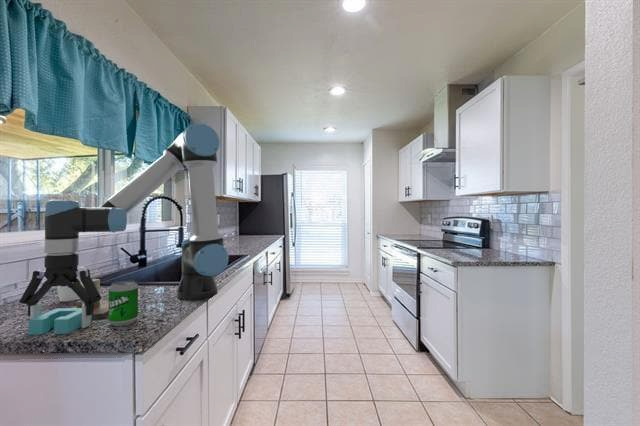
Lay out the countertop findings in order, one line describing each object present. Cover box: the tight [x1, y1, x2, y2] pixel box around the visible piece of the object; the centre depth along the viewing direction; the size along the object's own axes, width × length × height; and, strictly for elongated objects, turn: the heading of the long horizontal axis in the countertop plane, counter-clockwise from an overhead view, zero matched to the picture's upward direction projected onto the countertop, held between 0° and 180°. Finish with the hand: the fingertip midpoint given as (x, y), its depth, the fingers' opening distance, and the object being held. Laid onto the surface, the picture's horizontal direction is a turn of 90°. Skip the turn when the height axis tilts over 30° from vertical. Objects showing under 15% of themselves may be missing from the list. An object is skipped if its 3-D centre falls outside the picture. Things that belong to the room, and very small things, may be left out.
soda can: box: [107, 280, 139, 327], centre depth 93 cm, size 8×8×12 cm
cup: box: [56, 265, 86, 303], centre depth 117 cm, size 9×9×12 cm
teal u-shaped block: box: [28, 307, 93, 336], centre depth 89 cm, size 10×10×4 cm
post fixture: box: [71, 278, 108, 320], centre depth 103 cm, size 14×14×10 cm
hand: (61, 327), depth 89 cm, fingers open, 13 cm apart
